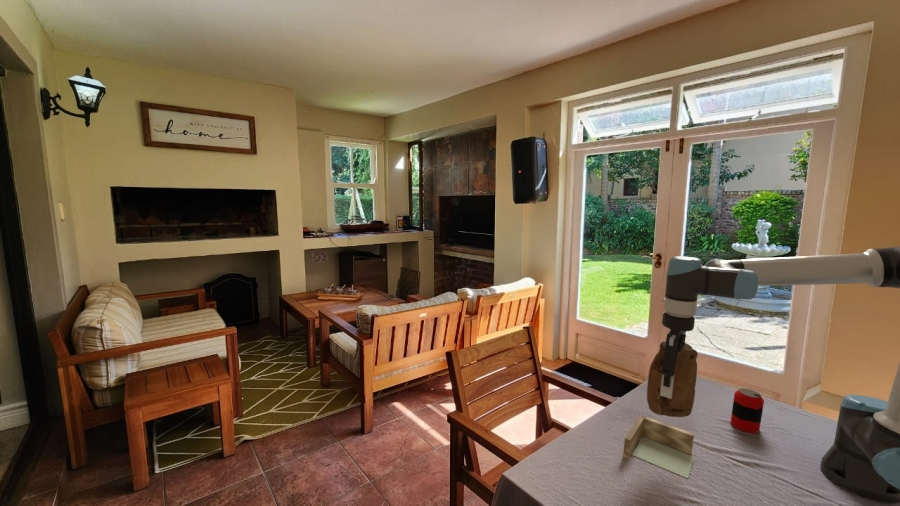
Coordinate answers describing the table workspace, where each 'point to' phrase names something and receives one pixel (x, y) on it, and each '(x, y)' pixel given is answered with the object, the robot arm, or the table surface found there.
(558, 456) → the table surface
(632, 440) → the wooden l-shaped piece
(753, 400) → the soda can
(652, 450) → the pad
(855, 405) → the robot arm
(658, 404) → the brown sandstone rock
